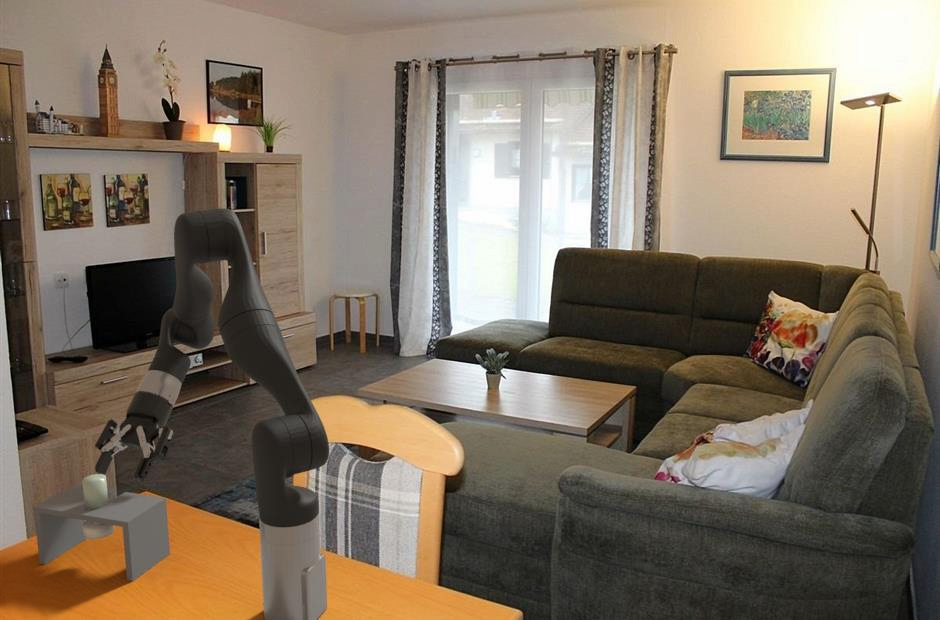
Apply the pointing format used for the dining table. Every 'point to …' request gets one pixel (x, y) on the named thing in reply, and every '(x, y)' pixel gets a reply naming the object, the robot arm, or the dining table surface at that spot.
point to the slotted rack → (131, 511)
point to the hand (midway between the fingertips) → (118, 476)
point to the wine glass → (96, 505)
